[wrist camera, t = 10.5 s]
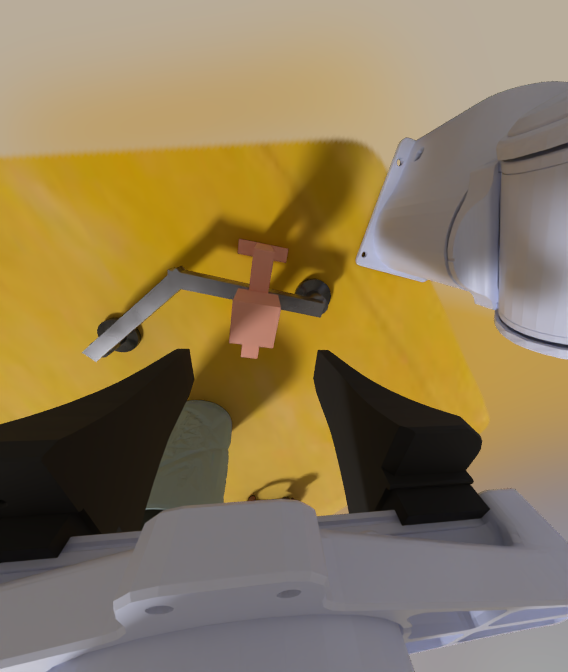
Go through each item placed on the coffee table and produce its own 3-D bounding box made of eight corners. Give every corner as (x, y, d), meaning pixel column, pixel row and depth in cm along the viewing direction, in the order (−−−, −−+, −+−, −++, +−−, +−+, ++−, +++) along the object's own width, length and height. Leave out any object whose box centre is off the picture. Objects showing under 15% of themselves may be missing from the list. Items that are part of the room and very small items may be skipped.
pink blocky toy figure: (288, 248, 19) (309, 263, 10) (274, 322, 22) (281, 383, 13) (239, 238, 18) (215, 244, 9) (232, 316, 21) (209, 376, 12)
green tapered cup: (227, 451, 31) (207, 567, 20) (154, 441, 28) (89, 566, 18) (244, 402, 27) (232, 515, 16) (161, 386, 24) (82, 505, 14)
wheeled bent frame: (85, 223, 17) (30, 220, 13) (333, 283, 21) (350, 294, 17) (104, 346, 21) (68, 371, 18) (302, 375, 26) (309, 400, 22)
